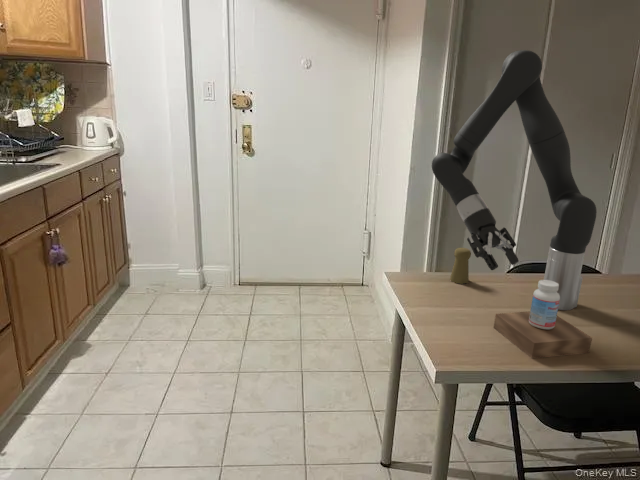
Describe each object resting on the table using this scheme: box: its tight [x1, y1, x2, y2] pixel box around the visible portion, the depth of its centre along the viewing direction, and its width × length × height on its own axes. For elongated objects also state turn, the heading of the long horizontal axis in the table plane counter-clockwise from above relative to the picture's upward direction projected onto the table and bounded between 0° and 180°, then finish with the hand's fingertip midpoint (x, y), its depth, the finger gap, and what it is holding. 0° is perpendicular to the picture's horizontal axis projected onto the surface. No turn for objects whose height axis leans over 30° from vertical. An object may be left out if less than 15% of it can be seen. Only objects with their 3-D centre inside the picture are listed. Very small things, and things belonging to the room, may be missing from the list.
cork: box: [449, 247, 472, 285], centre depth 165 cm, size 6×6×11 cm
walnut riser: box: [493, 311, 593, 359], centre depth 128 cm, size 16×16×4 cm
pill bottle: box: [529, 279, 560, 330], centre depth 126 cm, size 6×6×11 cm
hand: (505, 266), depth 135 cm, fingers open, 8 cm apart
